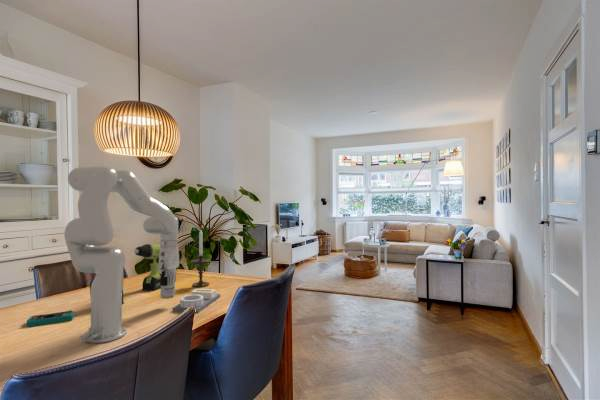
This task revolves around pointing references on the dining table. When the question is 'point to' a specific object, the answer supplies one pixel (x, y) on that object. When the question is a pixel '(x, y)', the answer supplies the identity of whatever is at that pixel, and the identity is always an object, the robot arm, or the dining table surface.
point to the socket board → (206, 302)
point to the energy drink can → (169, 285)
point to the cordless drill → (152, 256)
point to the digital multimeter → (50, 318)
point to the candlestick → (200, 262)
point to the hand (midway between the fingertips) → (168, 283)
